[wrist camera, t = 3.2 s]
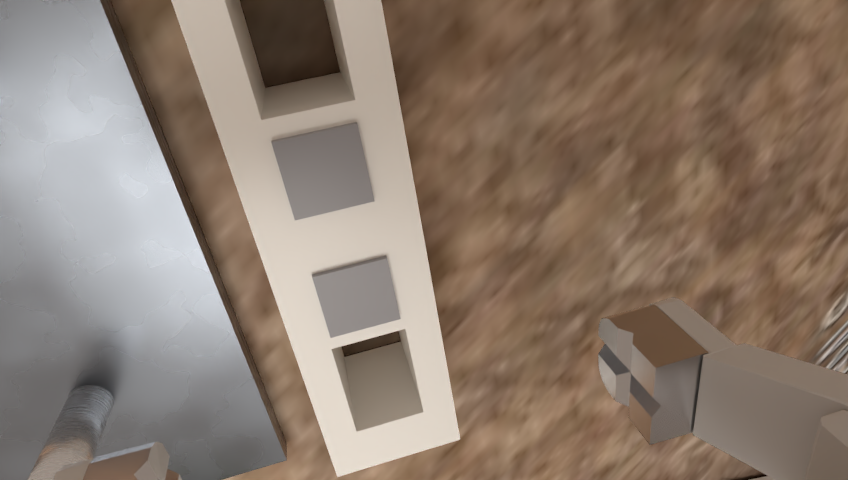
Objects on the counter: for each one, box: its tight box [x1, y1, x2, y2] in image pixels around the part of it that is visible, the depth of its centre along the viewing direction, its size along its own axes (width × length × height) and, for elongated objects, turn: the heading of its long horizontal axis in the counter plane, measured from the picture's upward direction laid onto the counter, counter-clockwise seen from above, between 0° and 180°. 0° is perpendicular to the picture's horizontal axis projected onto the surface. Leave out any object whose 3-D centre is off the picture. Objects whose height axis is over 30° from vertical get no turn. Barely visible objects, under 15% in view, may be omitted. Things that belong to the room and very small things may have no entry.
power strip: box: [171, 0, 460, 477], centre depth 19 cm, size 5×20×5 cm, turn 9°
